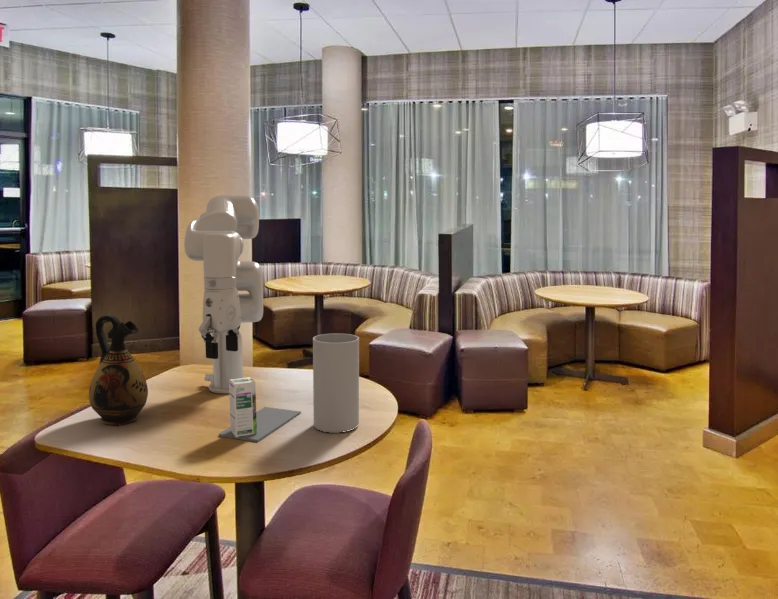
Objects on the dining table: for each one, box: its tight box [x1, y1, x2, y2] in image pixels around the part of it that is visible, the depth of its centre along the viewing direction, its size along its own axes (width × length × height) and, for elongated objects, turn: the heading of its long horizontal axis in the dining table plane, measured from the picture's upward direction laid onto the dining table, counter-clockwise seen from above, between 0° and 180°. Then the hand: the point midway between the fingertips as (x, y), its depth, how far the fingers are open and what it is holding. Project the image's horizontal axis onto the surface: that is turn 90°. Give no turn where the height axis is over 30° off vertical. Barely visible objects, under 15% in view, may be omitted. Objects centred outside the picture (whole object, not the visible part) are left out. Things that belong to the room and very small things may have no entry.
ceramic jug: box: [88, 313, 149, 427], centre depth 177 cm, size 17×15×30 cm
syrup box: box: [228, 376, 257, 437], centre depth 167 cm, size 6×6×14 cm
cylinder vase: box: [312, 332, 360, 434], centre depth 174 cm, size 12×12×25 cm
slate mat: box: [218, 406, 302, 443], centre depth 176 cm, size 12×24×1 cm, turn 161°
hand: (222, 354), depth 156 cm, fingers open, 7 cm apart
